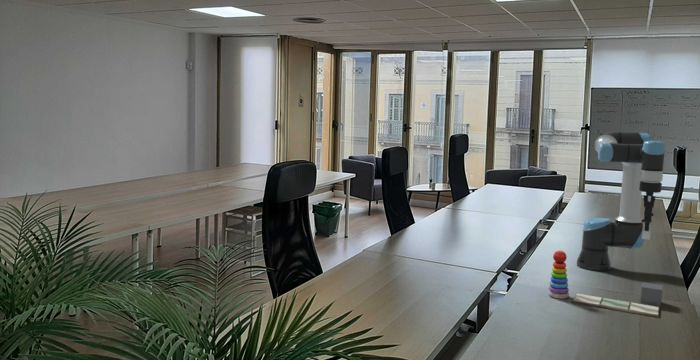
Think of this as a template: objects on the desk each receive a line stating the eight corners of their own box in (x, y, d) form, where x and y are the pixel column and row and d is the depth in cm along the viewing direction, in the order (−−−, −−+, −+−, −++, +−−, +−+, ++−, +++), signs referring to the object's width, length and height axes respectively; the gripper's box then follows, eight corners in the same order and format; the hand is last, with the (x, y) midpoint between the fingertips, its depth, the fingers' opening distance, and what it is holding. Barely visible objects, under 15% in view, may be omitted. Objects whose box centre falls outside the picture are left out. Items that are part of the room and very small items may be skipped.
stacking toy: (564, 293, 239) (567, 248, 236) (572, 299, 231) (575, 253, 228) (545, 292, 238) (548, 248, 236) (552, 299, 230) (555, 253, 228)
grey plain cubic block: (641, 299, 233) (642, 282, 232) (661, 302, 230) (662, 285, 229) (640, 304, 227) (641, 287, 226) (660, 307, 224) (662, 290, 223)
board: (576, 294, 236) (576, 292, 236) (659, 308, 222) (659, 306, 222) (572, 302, 227) (572, 300, 227) (658, 317, 213) (658, 315, 212)
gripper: (640, 177, 235) (636, 228, 238) (639, 184, 213) (634, 240, 216) (661, 178, 232) (656, 230, 235) (662, 186, 210) (656, 243, 213)
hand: (646, 235), depth 226 cm, fingers open, 13 cm apart
